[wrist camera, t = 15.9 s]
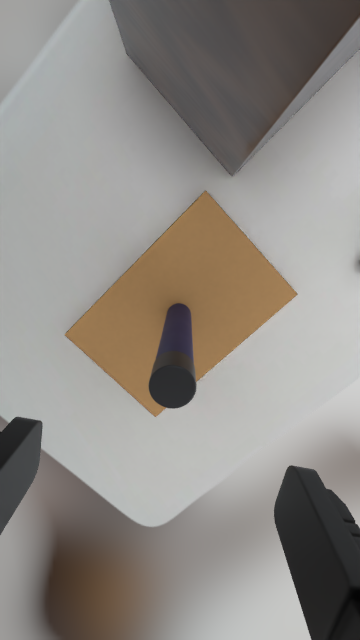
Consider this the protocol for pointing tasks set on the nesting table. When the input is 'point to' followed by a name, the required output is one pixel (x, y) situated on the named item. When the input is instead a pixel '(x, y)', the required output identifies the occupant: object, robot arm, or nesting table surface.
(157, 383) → the marker
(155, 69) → the stand
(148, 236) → the nesting table surface
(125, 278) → the cork mat
